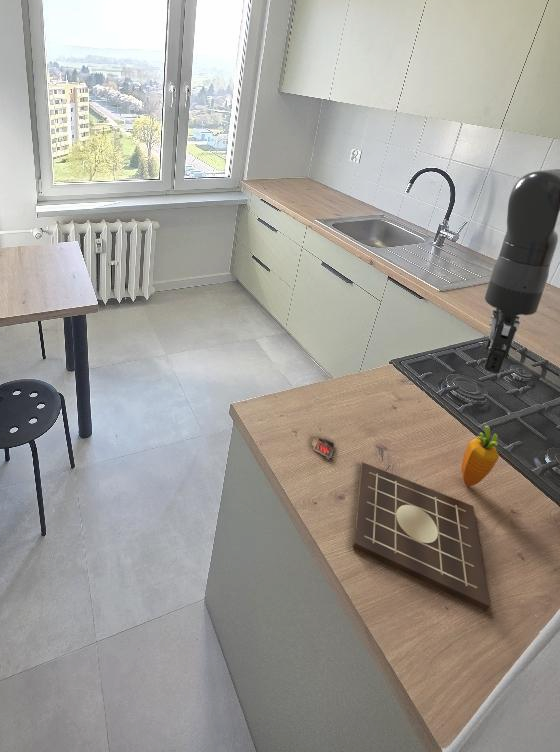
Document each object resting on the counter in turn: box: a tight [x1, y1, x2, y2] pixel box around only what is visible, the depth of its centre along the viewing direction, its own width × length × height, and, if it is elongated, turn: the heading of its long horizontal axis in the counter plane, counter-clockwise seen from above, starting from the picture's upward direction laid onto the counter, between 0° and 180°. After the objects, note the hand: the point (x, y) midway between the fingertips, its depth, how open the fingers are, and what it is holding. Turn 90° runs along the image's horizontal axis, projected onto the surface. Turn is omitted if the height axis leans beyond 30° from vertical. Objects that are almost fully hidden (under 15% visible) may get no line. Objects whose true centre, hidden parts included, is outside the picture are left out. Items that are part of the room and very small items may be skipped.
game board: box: [352, 461, 491, 612], centre depth 77 cm, size 20×18×2 cm
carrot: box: [461, 425, 500, 487], centre depth 83 cm, size 5×5×15 cm
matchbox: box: [311, 437, 335, 461], centre depth 92 cm, size 5×5×1 cm
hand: (491, 360), depth 79 cm, fingers open, 8 cm apart
